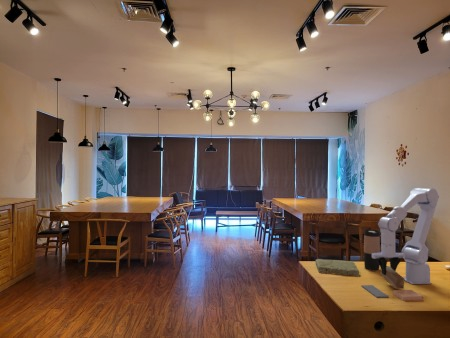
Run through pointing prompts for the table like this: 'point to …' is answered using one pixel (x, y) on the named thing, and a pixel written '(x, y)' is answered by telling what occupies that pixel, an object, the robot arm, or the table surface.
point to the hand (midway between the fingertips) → (388, 274)
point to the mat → (375, 291)
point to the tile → (407, 295)
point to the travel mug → (371, 249)
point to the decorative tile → (337, 267)
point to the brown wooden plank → (393, 278)
